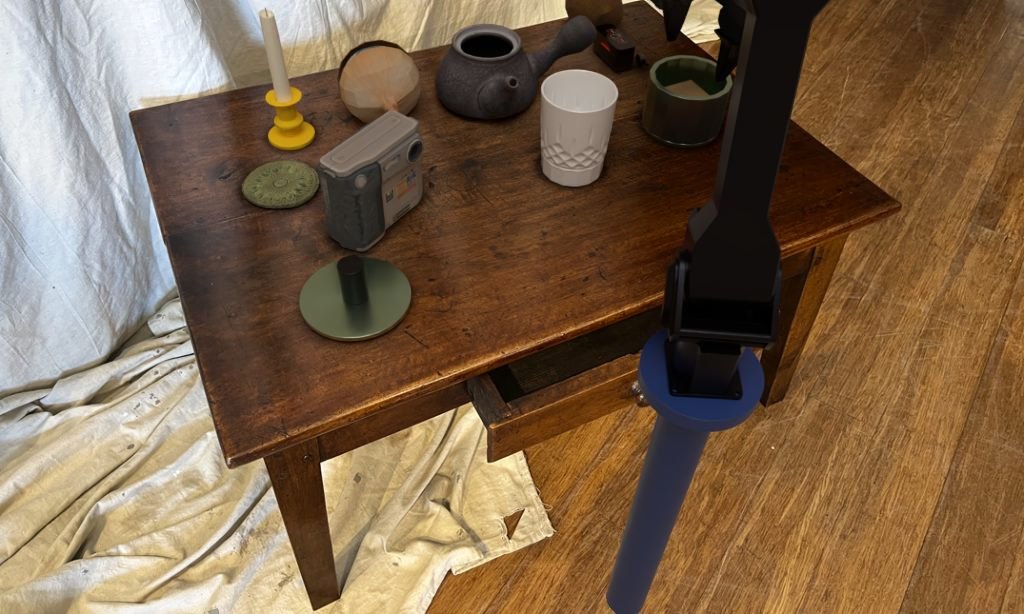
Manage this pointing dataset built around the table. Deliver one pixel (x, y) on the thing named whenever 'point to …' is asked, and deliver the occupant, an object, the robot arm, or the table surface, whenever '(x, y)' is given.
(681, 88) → the block
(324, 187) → the camera
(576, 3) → the potato
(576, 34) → the teapot
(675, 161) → the table surface
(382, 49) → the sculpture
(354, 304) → the lid
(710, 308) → the robot arm
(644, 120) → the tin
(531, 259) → the table surface
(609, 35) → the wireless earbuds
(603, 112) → the white cup
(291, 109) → the candle
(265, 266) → the table surface
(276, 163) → the medallion
